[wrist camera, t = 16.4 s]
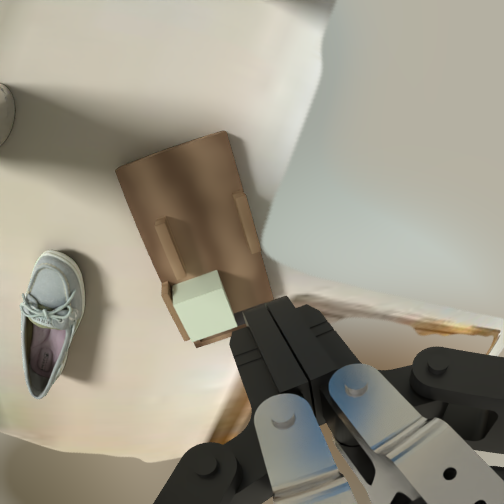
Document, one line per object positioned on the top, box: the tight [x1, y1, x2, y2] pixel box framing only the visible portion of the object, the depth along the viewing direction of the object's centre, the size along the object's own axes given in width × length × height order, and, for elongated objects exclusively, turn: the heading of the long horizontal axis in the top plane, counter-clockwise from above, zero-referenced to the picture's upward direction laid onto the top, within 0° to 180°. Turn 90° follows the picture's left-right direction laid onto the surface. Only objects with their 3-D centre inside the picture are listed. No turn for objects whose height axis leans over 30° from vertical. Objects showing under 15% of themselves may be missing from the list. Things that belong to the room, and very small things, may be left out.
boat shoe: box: [20, 250, 85, 399], centre depth 37 cm, size 10×24×8 cm, turn 164°
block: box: [172, 270, 237, 342], centre depth 39 cm, size 6×6×4 cm
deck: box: [115, 131, 274, 348], centre depth 39 cm, size 13×28×6 cm, turn 15°
